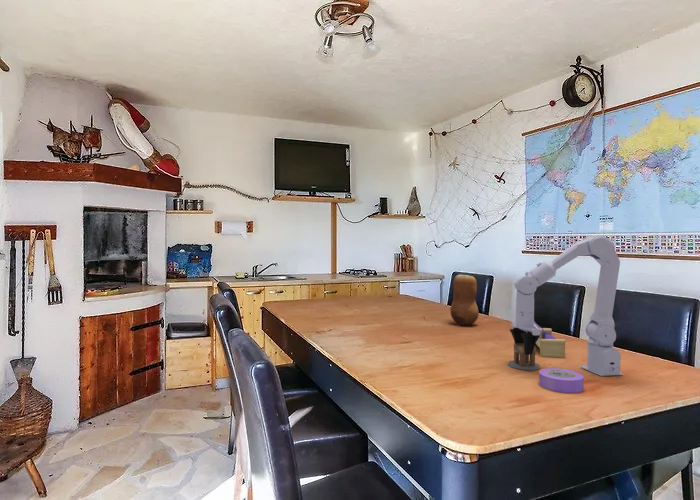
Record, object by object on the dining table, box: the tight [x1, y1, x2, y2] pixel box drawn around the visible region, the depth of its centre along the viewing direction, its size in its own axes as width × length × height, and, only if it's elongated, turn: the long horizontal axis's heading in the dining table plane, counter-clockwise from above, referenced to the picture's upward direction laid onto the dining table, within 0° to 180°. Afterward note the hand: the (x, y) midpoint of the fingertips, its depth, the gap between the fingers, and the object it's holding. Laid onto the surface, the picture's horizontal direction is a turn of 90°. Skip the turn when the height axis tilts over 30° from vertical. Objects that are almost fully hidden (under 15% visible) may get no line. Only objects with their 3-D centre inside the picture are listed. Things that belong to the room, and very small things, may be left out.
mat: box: [507, 359, 541, 372], centre depth 149 cm, size 10×10×1 cm
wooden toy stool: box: [513, 343, 537, 367], centre depth 148 cm, size 5×5×6 cm
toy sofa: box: [534, 320, 566, 359], centre depth 170 cm, size 21×9×10 cm, turn 169°
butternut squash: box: [450, 274, 480, 327], centre depth 219 cm, size 14×13×25 cm
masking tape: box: [538, 367, 585, 394], centre depth 129 cm, size 12×12×4 cm
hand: (524, 352), depth 148 cm, fingers closed on wooden toy stool, 5 cm apart
